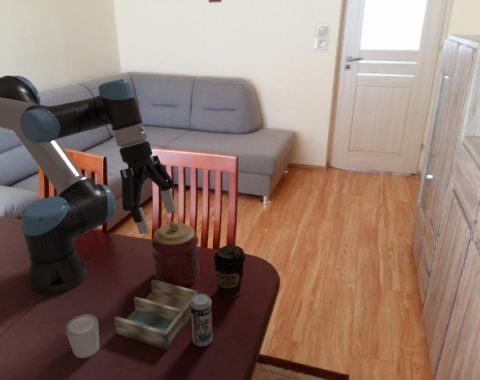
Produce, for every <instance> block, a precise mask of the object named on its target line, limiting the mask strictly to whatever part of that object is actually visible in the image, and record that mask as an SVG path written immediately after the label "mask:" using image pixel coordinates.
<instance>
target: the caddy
mask: <svg viewBox="0 0 480 380" xmlns="http://www.w3.org/2000/svg"><path fill="white" fill-rule="evenodd" d="M150 282H151V283H150V284H151V292H150V293H149V294H148V295H147V296H146V298H142V297H138V296H135V297H134V298H133V301H134V310H133V311H132V312H131V314H130V315H129V316H127V318H122V317H120V316H115V317H114V318H113V319H114V324H115V331H116V332H115V333H116V334H117V335H120V336H124V337H126V338H129V339H132V340H136V341H138V342H141V343H145V344H147V345H150V346H154V347H157V348H159V349H163V350H166V351H168V350H169V349H170V347H171V346H172V345H173V344H174V342H175V341H176V339H177V338H178V336H180V334H181V333H182V332H183V330H184V329H185V327H186V325H187V324H188V323H189V321H190V320H191V305H190V302H191V300H192V298H193V297H194V296H195V295H197V294H200V291H199V290H194V289H190V288H187V287H180V286H176V285H173V284H169V283H165V282H161V281H158V280H156V279H153V278H152V280H151V281H150Z"/></svg>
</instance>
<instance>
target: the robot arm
mask: <svg viewBox="0 0 480 380" xmlns="http://www.w3.org/2000/svg"><path fill="white" fill-rule="evenodd" d="M97 89H98V94H99V95H96V96H93V97H90V98H86V99H80V100H75V101H73V102H72V101H70V102H65V103H62V104H56V105H44V104H41V97H40V95H38V94H39V91H38V90H37V88H36V86H35V85H34V84H33V83H32V81H30V80H29V79H28V78H26V77H24V76H21V75H4V76H2V77H1V76H0V128H1V129H7V130H10V131H13V132H14V133H15V135H16V136H17V138H18V139H19V141H20V142H21V143H22V145H23V146H24V147H25V149H26V150H27V151H28V153H29V154H30V156H31V157H32V158H33V159H34V161H35V162H36V164H37V165H38V167H39V168H40V169H41V171H42V173H44V175H45V177H47V179H48V180H49V182H50V184H52V186H53V187H54V189H55V191H56V192H57V193H56V196H55V195H54V196H48V197H47V198H46V197H43V198H40V199H37V200H35V201H32V202H31V203H29V204H28V205H27V206H26V207H25V208H24V209H23V210H22V212H21V215H20V220H21V221H20V222H21V230H22V232H23V236H24V239H25V243H26V247H27V251H28V255H29V259H30V261H29V262H30V263H29V273H28V275H27V282H28V285H29V287H28V288H29V290H31V291H32V292H34V293H35V294H39V295H45V296H47V295H49V296H51V295H56V294H61V293H65V292H68V291H70V290H72V289H74V288H76V287H77V286H78V285H80V284H81V283H82V282H83V281H84V280H85V278H86V275H87V269H86V265H85V262H84V261H83V260H82V258H81V256H80V255H79V253H78V251H77V250H76V246H75V239H76V238H78V237H80V236H83V235H84V234H86V233H88V232H90V231H92V230H95V229H96V228H98V227H100V226H103V225H105V223H107V222H109V221H110V220H112V219H113V217H114V215H116V209H117V208H116V205H117V203H116V198H115V196H114V194H113V192H112V190H111V189H110V188H109V187H108V185H106V184H104V183H96V182H95V180H94V179H93V177H90V176H86V175H83V173H82V172H81V171H80V169H79V168H78V166H77V165H76V164H75V162H74V161H73V160H72V158H71V157H70V156H69V154H68V153H67V151H66V150H65V149H64V147H63V146H62V144H61V143H60V142H59V139H63V138H66V137H70V136H74V135H77V134H81V133H85V132H88V131H93V130H97V129H99V128H102V127H106V126H108V125H110V126H111V130H112V134H113V136H114V140H115V142H116V146H117V147H119V150H118V151H119V154H120V157H121V160H122V162H123V163H125V164H127V168H124V169H120V170H119V174H120V177H121V189H122V190H121V191H122V192H121V193H122V194H121V195H122V196H121V197H122V199H121V200H122V210H123V212H126V211H127V212H128V211H130V213H131V216H132V219H133V221H134V223H135V224H136V227H137V230H138V233H139V235H145V234H150V233H151V230H150V227H149V224H148V221H147V219H146V216H145V212H144V209H143V207H140V204H141V203H140V202H141V196H142V189H143V188H142V187H143V185H144V183H145V181H147V179H149V180H150V181H152V182H153V183H154V184H155V185H156V186H157V187H158V188H159V189H160V190H161V191H160V195H161V198H162V202H163V205H164V208H165V210H166V214H168V215H169V214H173V213H177V212H178V210H177V208H176V205H175V201H174V197H173V194H172V190H171V189H174V181H173V178H171V176H170V175H169V173H168V171H167V170H166V168H165V167H164V166H163V164H162V163H161V161H160V158H159V156H158V155H153V150H152V147H151V145H150V142H149V140H146V139H147V138H148V136H147V132H146V129H145V126H144V124H143V120H142V117H141V113H140V110H139V107H138V104H137V100H136V95H135V93H134V91H133V89H132V86H131V84H130V81H129V80H127V79H124V78H121V79H115V80H111V81H107V82H103V83H101V84H100V85H99V86H98V88H97Z"/></svg>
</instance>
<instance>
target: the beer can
mask: <svg viewBox="0 0 480 380" xmlns="http://www.w3.org/2000/svg"><path fill="white" fill-rule="evenodd" d="M212 302H213V301H212V299H211V297H210V296H209V295H208V294H206V293H200V292H199V294H197V295H195V296H194V297H193V298H192V300H191V302H190V305H191V319H190V320H191V333H192V334H191V335H192V338H191V341H192V343H193V344H194V345H196V346H197V347H206V346H208V345H210V344H211V343H212V341H213V312H212V311H213V309H212V306H213V305H212Z"/></svg>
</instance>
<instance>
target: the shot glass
mask: <svg viewBox="0 0 480 380" xmlns="http://www.w3.org/2000/svg"><path fill="white" fill-rule="evenodd" d="M65 332H66V333H65V334H66V336H67V338H68V339H67V340H68V342H69V344H70V348H71V350H72V353H73V354H74V356H75V357H77V358H79V359H86V358H89V357H91V356H93V355H94V354H96V353H97V352H98V351H99V349H100V334H99V333H100V330H99V319H98V318H97V316H95V315H94V314H89V313H85V314H80V315H77V316H75V317H74V318H71V320H69V321H68V322H67V324H66V325H65Z"/></svg>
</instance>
